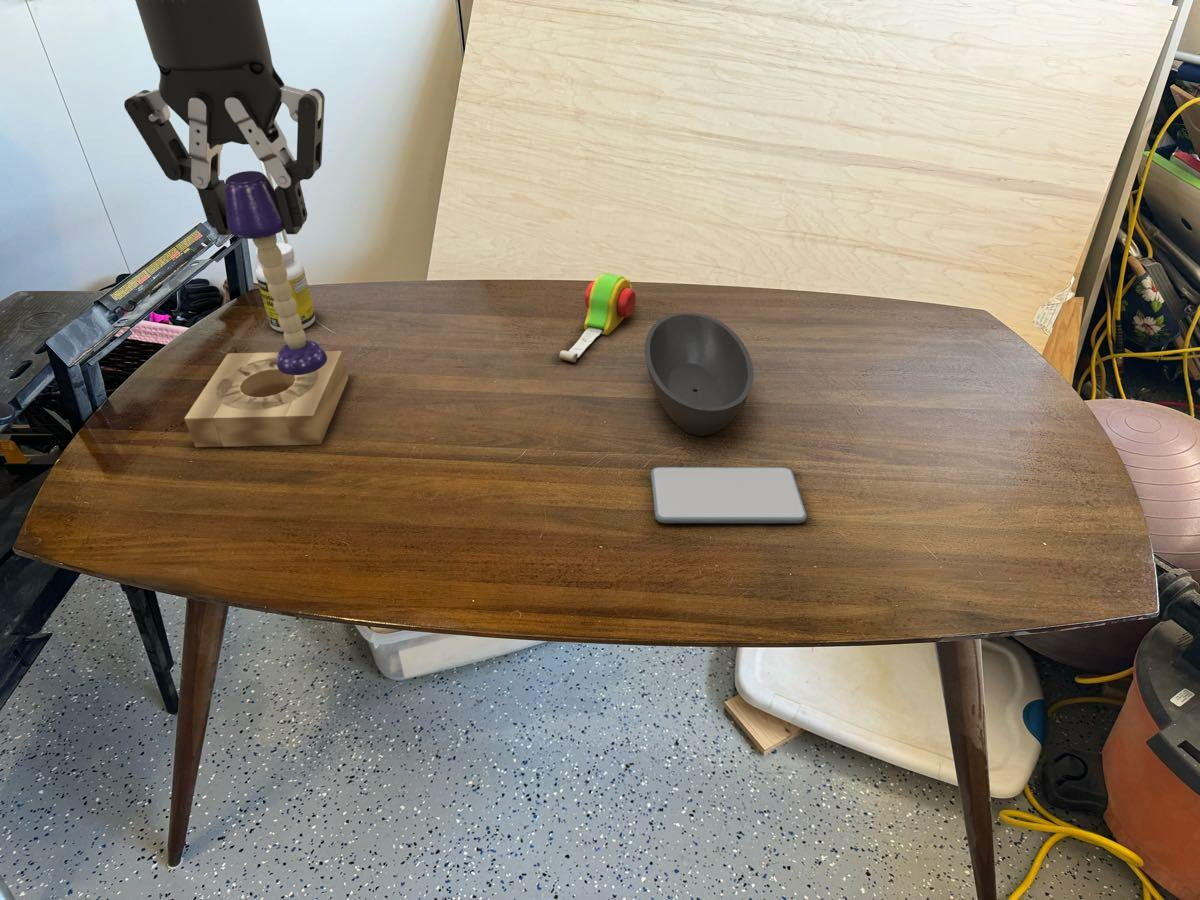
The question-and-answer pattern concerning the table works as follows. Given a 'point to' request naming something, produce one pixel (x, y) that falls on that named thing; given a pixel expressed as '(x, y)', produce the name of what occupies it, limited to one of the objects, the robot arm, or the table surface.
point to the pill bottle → (298, 289)
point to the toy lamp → (271, 263)
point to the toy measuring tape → (603, 310)
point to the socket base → (266, 403)
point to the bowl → (698, 371)
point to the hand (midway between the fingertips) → (261, 230)
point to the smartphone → (726, 495)
